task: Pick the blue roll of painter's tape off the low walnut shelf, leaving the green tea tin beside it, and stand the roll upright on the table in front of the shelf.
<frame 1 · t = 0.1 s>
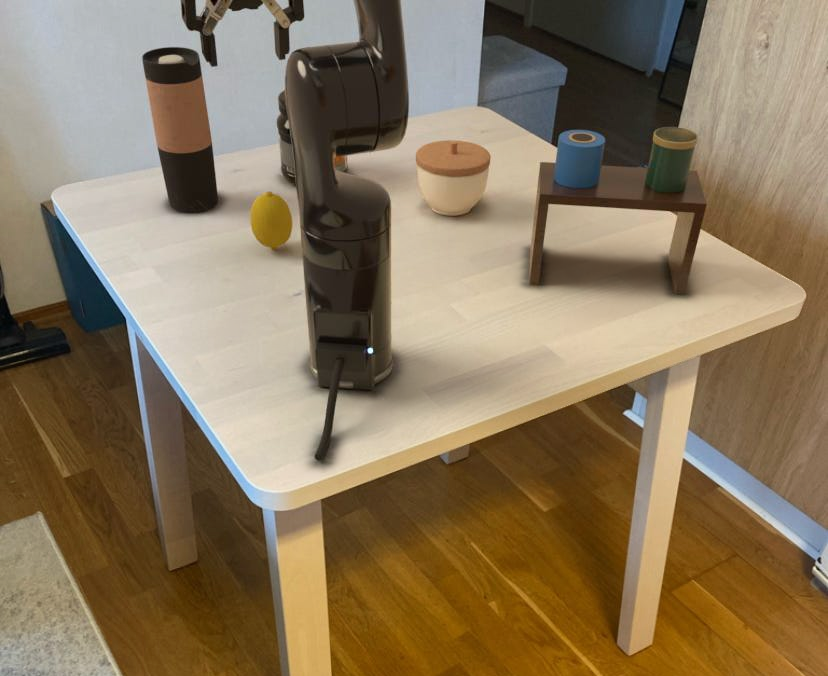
hand: (247, 60, 110), 22 cm above the table, tool pointing down, fingers open, 8 cm apart
lemon: (274, 251, 122), on the table
shelf: (604, 271, 119), on the table
trinket box: (450, 208, 133), on the table
tea tin: (665, 184, 111), point 12 cm above the table, touching shelf
tape roll: (576, 179, 111), point 12 cm above the table, touching shelf
supplement container: (315, 177, 140), on the table
travel mug: (194, 204, 133), on the table
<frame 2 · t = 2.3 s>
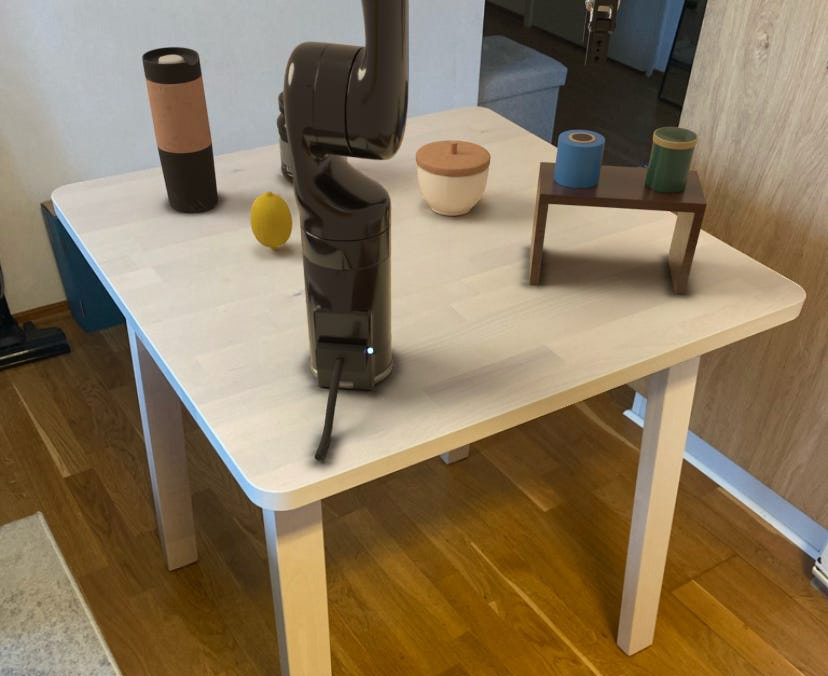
hand: (592, 58, 102), 26 cm above the table, tool pointing down, fingers open, 8 cm apart
nothing on the table moved.
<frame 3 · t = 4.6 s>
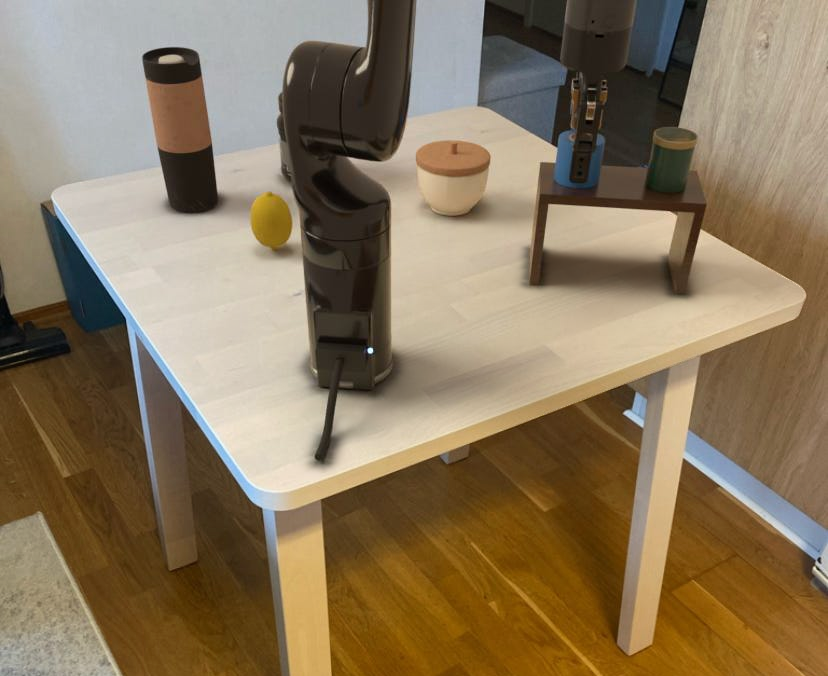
hand: (577, 171, 111), 13 cm above the table, tool pointing down, fingers closed on tape roll, 5 cm apart
tape roll: (576, 179, 111), point 12 cm above the table, touching gripper, shelf
everything else where it was.
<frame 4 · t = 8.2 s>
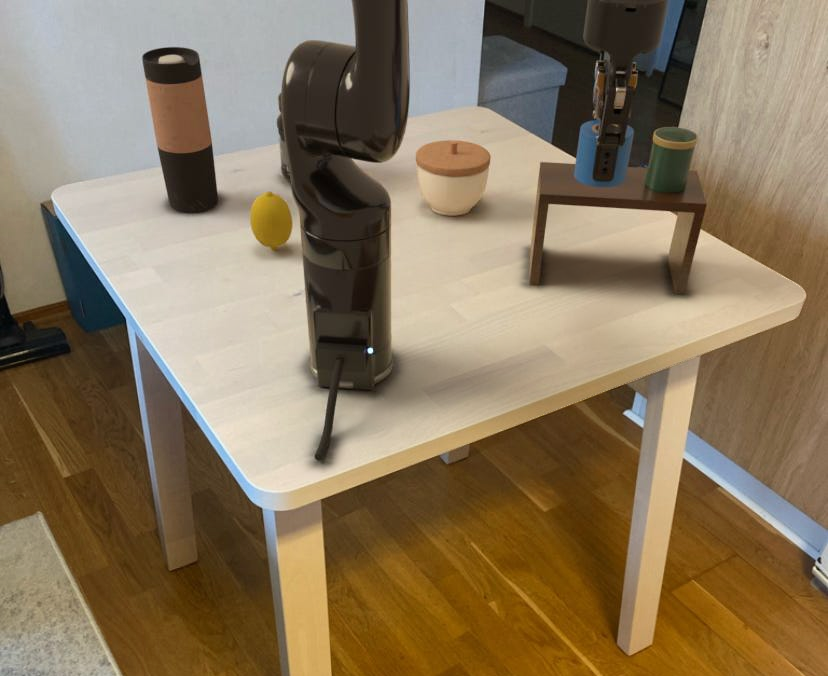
hand: (600, 167, 97), 19 cm above the table, tool pointing down, fingers closed on tape roll, 5 cm apart
tape roll: (599, 176, 97), point 18 cm above the table, touching gripper
everything else where it was.
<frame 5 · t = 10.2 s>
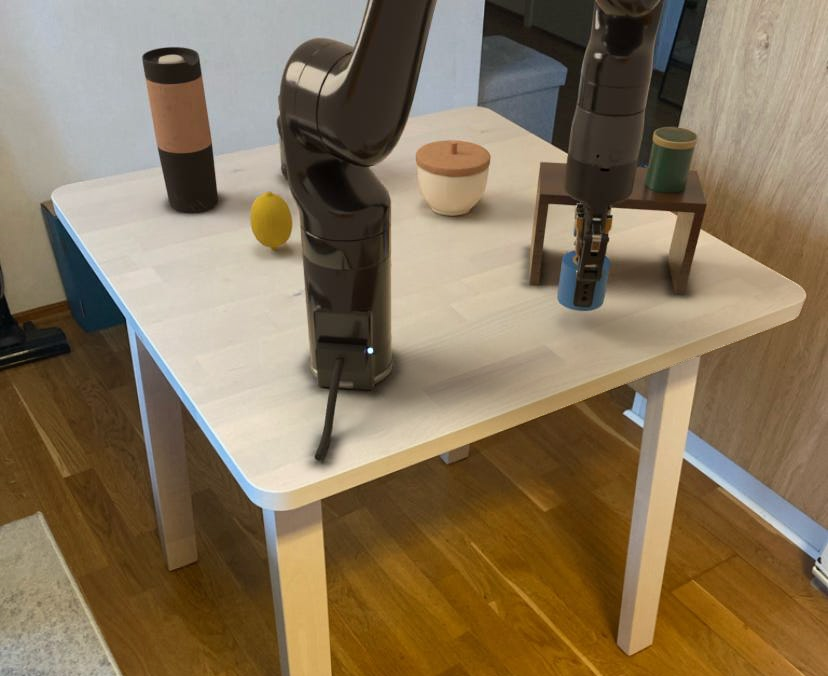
hand: (581, 291, 107), 4 cm above the table, tool pointing down, fingers closed on tape roll, 5 cm apart
tape roll: (580, 299, 108), point 3 cm above the table, touching gripper
everything else where it was.
when the fingers open (1 cm above the table, at t = 11.7 s): tape roll stays where it is, on the table.
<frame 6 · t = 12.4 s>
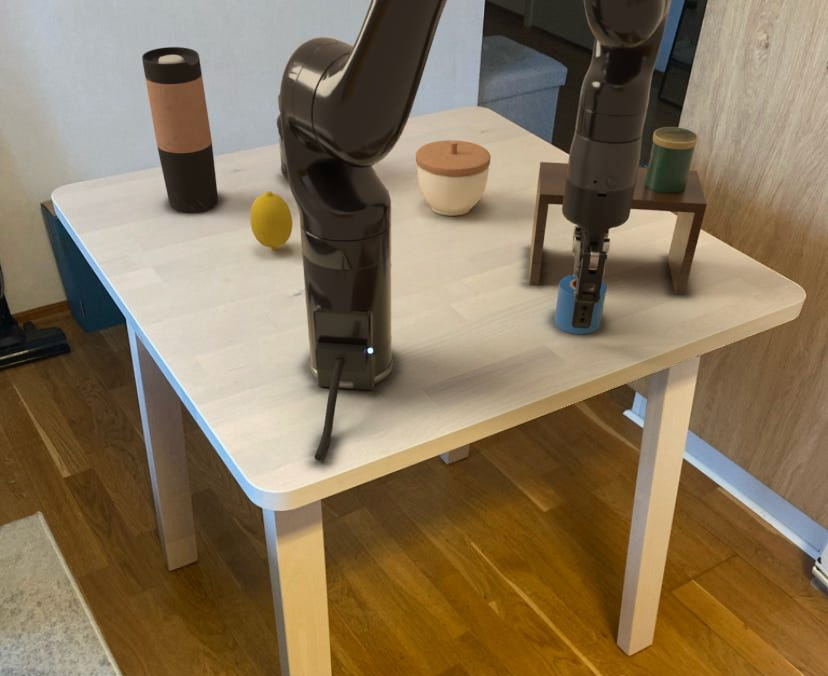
hand: (579, 308, 108), 2 cm above the table, tool pointing down, fingers open, 8 cm apart
tape roll: (577, 322, 110), on the table
everything else where it was.
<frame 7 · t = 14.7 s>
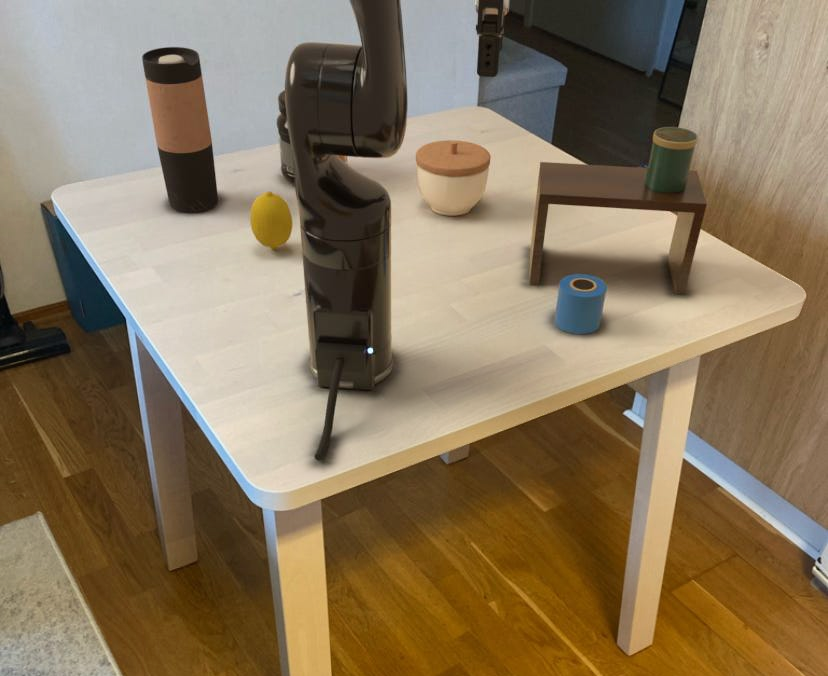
hand: (489, 63, 97), 27 cm above the table, tool pointing down, fingers open, 8 cm apart
nothing on the table moved.
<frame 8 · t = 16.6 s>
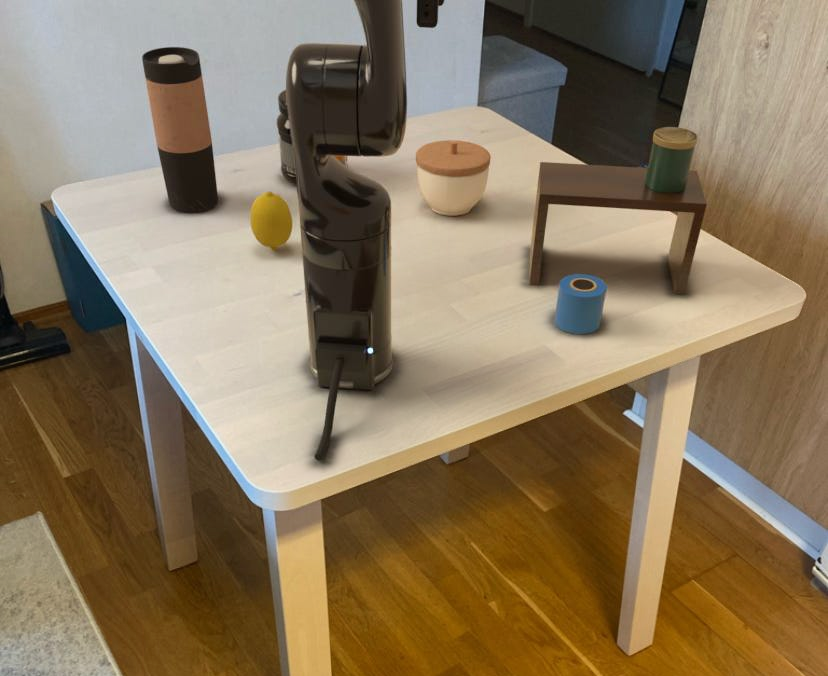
hand: (430, 15, 98), 30 cm above the table, tool pointing down, fingers open, 8 cm apart
nothing on the table moved.
at the end: tape roll inside the target area (0.5 cm from its centre), on the table; tape roll tilted 0°; tea tin moved 0.0 cm from its start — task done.
